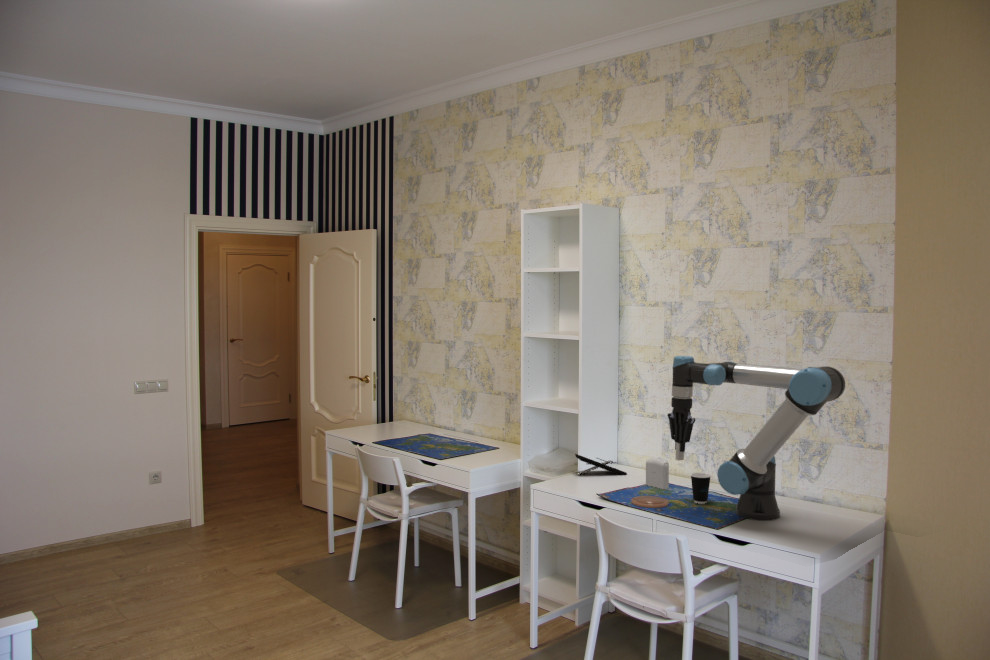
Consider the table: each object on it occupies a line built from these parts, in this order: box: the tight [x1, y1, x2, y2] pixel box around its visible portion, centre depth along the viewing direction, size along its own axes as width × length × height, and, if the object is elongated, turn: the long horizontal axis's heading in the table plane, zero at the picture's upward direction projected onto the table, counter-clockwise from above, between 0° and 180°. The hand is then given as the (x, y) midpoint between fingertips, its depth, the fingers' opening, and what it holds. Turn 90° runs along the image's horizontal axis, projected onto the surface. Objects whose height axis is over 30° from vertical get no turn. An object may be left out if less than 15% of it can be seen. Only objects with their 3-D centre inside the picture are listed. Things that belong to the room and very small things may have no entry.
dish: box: [630, 495, 670, 509], centre depth 280 cm, size 14×14×1 cm
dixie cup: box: [690, 472, 712, 505], centre depth 281 cm, size 8×8×11 cm
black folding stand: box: [574, 453, 628, 476], centre depth 329 cm, size 22×10×10 cm, turn 101°
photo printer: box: [645, 457, 670, 490], centre depth 305 cm, size 10×4×12 cm, turn 39°
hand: (679, 459), depth 274 cm, fingers closed
